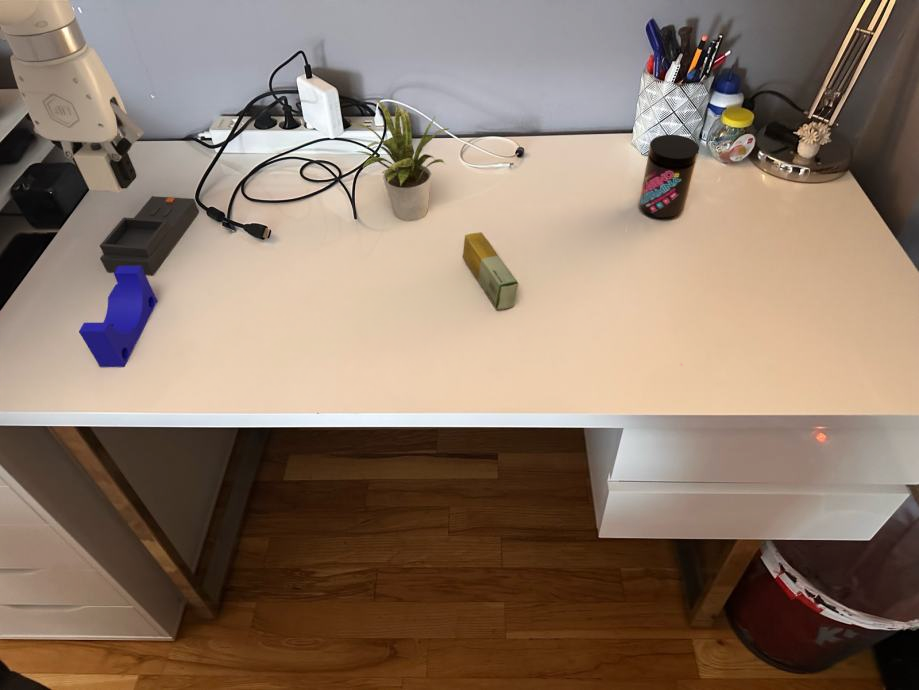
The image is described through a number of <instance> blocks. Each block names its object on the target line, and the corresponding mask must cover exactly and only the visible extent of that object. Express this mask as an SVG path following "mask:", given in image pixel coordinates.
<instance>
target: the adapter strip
mask: <svg viewBox="0 0 919 690" xmlns="http://www.w3.org/2000/svg"><path fill="white" fill-rule="evenodd" d="M199 213H200V210H199V208H198V204H197V203H196V200H195V198H188V197H187V198H186V197H175V196H173V197H171V196H156V195H151V197H150V198H149V199H148V200H147V201H146V203H144V204H143V206H142V208H141V209H139V211H138V212H137V213H136V215H135V216H134V217H126V216H125V217H123V218H122V219H120V221H119V222H118V223H117V224H116V225H115V227H114V228H113V229H112V230H111V231H110V233H109V234H108V235H107V236H106V237H105V238H104V240H103V241H102V242H101V243H100V245H99V248H100V250H101V251H102V252H101V253H102V255H101V256H100V258H99V259H100V261H101V263H102V265H103V267H104V269H105V271H106V272H107V273H113V274H114V272H115V270H116V269H117V267H118V266H142V269H143V271H144V273H145V275H146V276H155V274H156V273H157V271H158V270H159V268H160V267H161V265H163V263H164V261H165V260H166V259H167V257H168V256H169V254H170V253H171V252H172V250H173V249H174V248H175V246H176V245H177V243H179V241H180V240H181V238H182V237H183V235H184V234H185V233H186V231H187V230H188V229H189V228H190V225H191V224H192V223H193V222H194V220H195V219H196V217H197V216H198V215H199Z"/></svg>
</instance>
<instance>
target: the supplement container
mask: <svg viewBox="0 0 919 690" xmlns="http://www.w3.org/2000/svg"><path fill="white" fill-rule="evenodd" d="M699 152H700V146H699V144H698V143H697V142H696V141H695V140H693V139H691V138H690V137H687V136H684V135H679V134H663V135H658V136H656V137H654V138H653V139H651V141H650V143H649V148H648V153H647V159H646V164H645V169H644V175H643V180H642V185H641V191H640V196H639V201H638V205H639V209H640V210H641V212H642V213H643V214H644V215H645V216H647V217H648V218H651V219H654V220H658V221H669V220H674V219H676V218H678V217H680V216H681V215H682V214H683V213H684V211H685V207H686V203H687V201H688V196H689V191H690V187H691V183H692V179H693V175H694V170H695V167H696V164H697V160H698V156H699Z"/></svg>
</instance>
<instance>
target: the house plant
mask: <svg viewBox="0 0 919 690" xmlns="http://www.w3.org/2000/svg"><path fill="white" fill-rule="evenodd" d="M375 101H376V102H377V105H379V107H380V109H381V111H382V113H383V116H384V119H385V122H386V126H387V128H388V130H389V132H390V135H391V137H389V138H388V139H383V138H382V136H380V134H378V133H377V132H376V131H375V130H374V129H373V128H371V127H369V126H368V125H365V124H361V123H351V125H354V126H358V127H362V128H363V129H367V130H370V131H371V132H372V133H373V134H375V136H377V138H378V139H379V140H380V141H381V142H377V141H374V142H371V143H370V144H368V145H366V147H365V149H367V148H370V147H371V150H373V149H374V148H375V149H376V148H381V149H382V150H383V151H384V152H385V153H386V154H387V155H388V156H389V157H390V159H391V160H392V161H393V163H392V161H389V160H388V159H386V158H385V157H380V156H375V155H373V154H372V153H370V152H367V151H361V150H358V151H356V153H360V154H364V155H366V156H369V158H368V159H367V160H366V161H365V162H364V164H363V166H362V169H364V167H367V166H370V165H372V164H376V163H379V164H380V165H382V166H383V167H385V168H387V169H385V170H383V171H382V174H383V177H382V179H383V183H384V186H385V188H386V191H387V194H388V197H389V198H388V199H389V201H390V204H391V208H392V211H393V214H394V217H396V218H397V219H399V220H401V221H406V222H414V221H418V220H420V219H423V218H424V217H425V216H426V215H427V213H428V208H429V200H430V199H429V198H430V189H431V181H432V172H431V170H430V169H429V168H428V167H430V166H431V165H433V164H437V163H443V164H446V162H445V161H444V159H440V158H438V159H437V158H435V157H434V156H433V155H430V154H428V153H427V154H425V153H423V154H422V155H421V156H420V154H421V153H422V151H423V149H424V147H425V146H426V145H428V143H429V142H431V141H432V140H433V138H436V136H437V135H439V134H441V133H443V132H445V131H448V130H449V128H442V129H439V130H437V131H436V132H435V133H434V134H433V135H428V133H429V131H430V129H431V127H432V124H433V122H434V121H435V117H436V116H433V118H432V119H431V121H430V123H429V124H428V126H426V130H425V131H424V133H423V135H422V137H421V139H420V141H419V143H418V145H417V147H416V149H414V145H413V137H412V135H413V133H412V132H413V131H412V123H411V119H410V115H409V114H410V113H408V111H407V110H406V109H405V107H403V109H402V108H401V106H400V105H399V104H398V103H397V105H396V107H395V112H394V122H393V118H392V115H391V113H390V111H389V109H388V108H387V107H386V106H385V104H383V103H382V102H381V101H380V100H378V99H377V98H375ZM401 124H402V125H401ZM376 145H378V146H376ZM381 145H382V146H381ZM372 146H373V147H372ZM430 158H432V159H433V161H431V162H429V163H428V164H427V165H426V166H425V165H423V164H424V163H425V162H426V161H427V159H430ZM385 162H387V163H388V164H390V166H389V165H387V164H385Z"/></svg>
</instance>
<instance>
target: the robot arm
mask: <svg viewBox="0 0 919 690" xmlns="http://www.w3.org/2000/svg"><path fill="white" fill-rule="evenodd" d="M72 7H73V6H72V5H71V2H70V0H0V39H1V40H2V41H5V42H7V43H8V44H9V47H10V49H11V51H12V53H13V54H12V55H11V56H10V58H9V59H10V63H11V69H12V73H13V76H14V79H15V82H16V86H17V88H18V92H19V94H20V96H21V98H22V101H23V103H24V106H25V109H26V110H27V112H28V115H29V117H30V119H31V121H32V123H33V125H34V126H33V131H34V133H35V134H37V135H39V136H40V137H42V138H43V139H45V140H48V141H50V142H51V143H52V144H53V145H54V146H56V147H57V148H58V149H60V150H61V151H62V152H63V153H64V156H65V157H66V158H67V159H70V160H72V161H73V164H74V166H75V167H76V170H77V172H78V174H79V176H80V177H81V180H82V182H83V184H84V187H88V186H87V184H86V182H85V180H84V177H83V175H82V173H81V171H80V169H79V167H78V165H77V163H76V161H75V159H74V157H73V155H75V154H76V153H77V152H78V151H79V150H80V149H81V148H82V147H83V146H84V145H85V144H86V143H102V144H103V146H104V147H105V149H106V151H107V152H108V154H109V155H110V157H111V158H112V160H111V161H110V165H111V167H112V170H113V172H114V174H115V176H116V179H117V181H118V183H119V185H120V187H121V188H122V190H123V189H128V188H129V187H130V186H131V184H132V183H133V182H134V181H135V180H136V179H137V172H136V169H135V167H134V164H133V162H132V160H131V157H130V155H129V151H130V150H131V148H132V146H133V145H134V144H135V143H136V142H137V141H138V140H139V139H140V138H141V137H142V136H144V133H145V131H144V130H143V128H142V127H141V126H140V125H139V124H138V123H136V121H134V120H133V118H131V117H130V116H129V115H128V112H127V110H126V107H125V104H124V103H123V100H122V98H121V96H120V94H119V91H118V89H117V88H116V85H115V84H114V81H113V80H112V78H111V76H110V74H109V71H108V70H107V68H106V67H105V65H104V64H103V61H102V60H101V58H100V57H99V55H98V54H97V51H95V49H94V48H93V46H91V45H88V43H87V41H86V39H85V37H84V34H83V31H82V29H81V27H80V24H79V22H78V20H77V17H76V14H75V13H74V10H73V8H72ZM120 129H121V130H122V131H123V132H124V133H125V135H124V134H123V132H122V131H121V130H120ZM113 141H115V142H116V144H117V146H115V144H114V143H113Z"/></svg>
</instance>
